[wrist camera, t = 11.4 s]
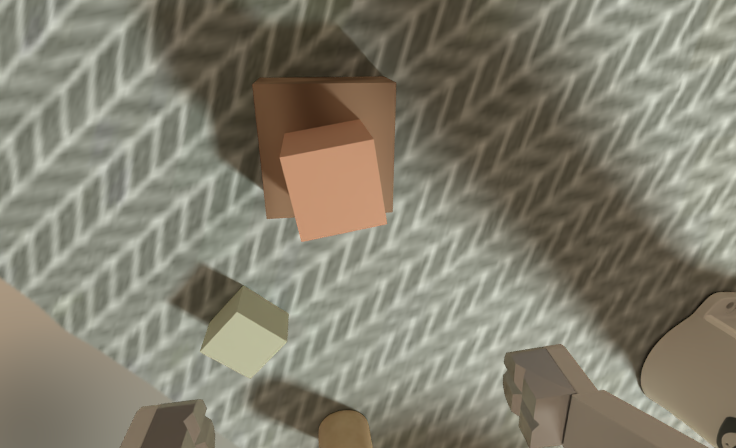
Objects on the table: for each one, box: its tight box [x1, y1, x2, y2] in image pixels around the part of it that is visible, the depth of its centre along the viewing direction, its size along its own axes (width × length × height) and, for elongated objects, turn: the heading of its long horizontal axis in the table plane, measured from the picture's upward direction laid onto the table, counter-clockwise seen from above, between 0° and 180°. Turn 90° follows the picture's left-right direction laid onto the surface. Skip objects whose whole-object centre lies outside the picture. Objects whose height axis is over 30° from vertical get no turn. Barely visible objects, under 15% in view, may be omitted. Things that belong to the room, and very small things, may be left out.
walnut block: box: [252, 76, 396, 219], centre depth 30 cm, size 9×9×5 cm
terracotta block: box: [280, 119, 387, 242], centre depth 25 cm, size 5×5×6 cm
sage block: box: [200, 285, 289, 379], centre depth 36 cm, size 5×5×4 cm
